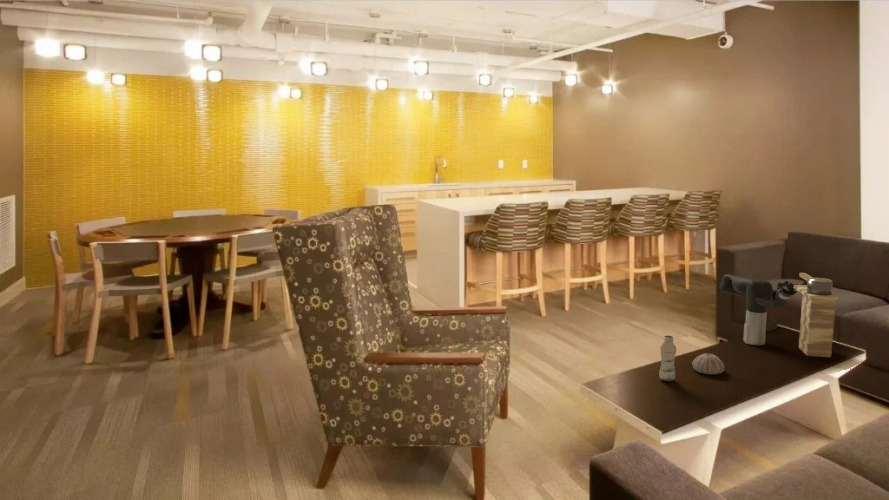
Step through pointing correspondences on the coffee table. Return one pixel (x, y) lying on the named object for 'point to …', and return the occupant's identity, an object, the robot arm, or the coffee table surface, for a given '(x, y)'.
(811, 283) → the saucepan
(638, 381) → the coffee table surface
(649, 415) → the coffee table surface
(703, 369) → the sea urchin shell
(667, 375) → the plastic bottle
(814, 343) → the stand
